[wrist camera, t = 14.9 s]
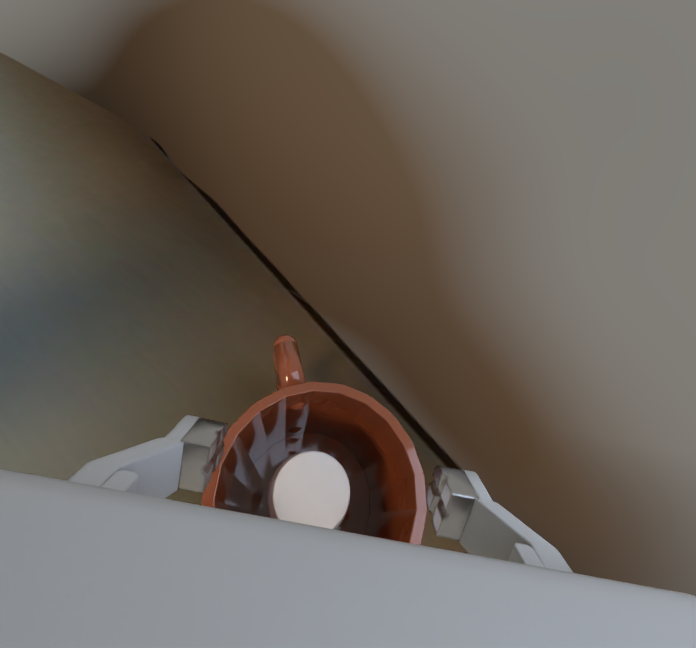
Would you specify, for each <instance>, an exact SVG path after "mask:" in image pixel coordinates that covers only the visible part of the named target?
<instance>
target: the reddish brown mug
mask: <svg viewBox="0 0 696 648" xmlns="http://www.w3.org/2000/svg"><path fill="white" fill-rule="evenodd" d="M273 351H274V367H275V382H276V387H277V391H276V392H274V393H272V394H270V395H268V396H266V397H265V398H263V399H261V400H259V401H257V402H256V403H254V404H253V405H252V406H251V407H250V408H249V409H248V410H247V411H246V412H245V413H244V414H243V415H242V416H241V417H240V418H239V419H238V420H237V421H236V422H235V423H234V424H233V425H232V426H231V427H230V428H229V429H228V431H227V433H226V435H225V437H224V439H223V442H224V444H225V446H224V451H223V455H222V458H221V461H220V463H219V466H218V468H217V469H216V471H214V472H212V476H211V480H210V482H209V484H208V485H207V487H206V489H205V491H204V492H203V496H202V503H201V505H203V506H208V507H213V508H219V509H224V510H230V511H235V512H241V513H246V514H252V515H257V516H263V517H268V518H270V515H269V512H268V507H267V493H268V486H269V483H270V481H271V478H272V476H273V474H274V472H275V471H276V469H277V468H278V467H279V466H280V464H281V463H282V462H283V461H285V460H286V459H287V458H289V457H290V456H292V455H294V454H296V453H299V452H303V451H319V452H324V453H326V454H328V455H330V456H332V457H333V458H335V459H336V460H337V461H338V462H339V463H340V464H341V466H342V467H343V469H344V470H345V472H346V474H347V477H348V480H349V485H350V501H349V506H348V510H347V513H346V515H345V517H344V519H343V521H342V523H341V524H340V526H339V527H338V528H337V529H336V530H340V531H345V532H351V533H356V534H362V535H367V536H373V537H378V538H384V539H389V540H395V541H400V542H406V543H411V544H417V545H421V541H422V536H423V531H424V525H425V520H426V515H427V503H426V490H425V478H424V472H423V470H422V467H421V464H420V461H419V458H418V456H417V453H416V450H415V447H414V445H413V442H412V440H411V439H410V437H409V436H408V434H407V433H406V432H405V430H404V429H403V427H402V426H401V425H400V423H399V422H398V420H397V419H396V417H395V416H394V415H393V414H392V413H391V412H390V411H388V410H387V409H386V408H385V407H383V406H382V405H381V404H380V403H378V402H377V401H376V400H375V399H373V398H372V397H371V396H369V395H368V394H365V393H363V392H360V391H358V390H355V389H353V388H350V387H348V386H345V385H342V384H335V383H324V382H307V383H306V380H305V376H304V372H303V368H302V363H301V359H300V355H299V351H298V346H297V343H296V341H295V339H294V338H293V337H292V336H289V335H281V336H279V337H278V338H277V339H276V340H275V342H274V345H273Z"/></svg>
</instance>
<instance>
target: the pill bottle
mask: <svg viewBox="0 0 696 648" xmlns="http://www.w3.org/2000/svg"><path fill="white" fill-rule="evenodd" d="M349 501H350V485H349V480H348V477H347V474H346V472H345V470H344V469H343V467H342V466H341V464H340V463H339V462H338V461H337V460H336V459H335V458H333V457H332V456H330V455H328V454H326V453H324V452H319V451H303V452H299V453H296V454H294V455H292V456H290V457H289V458H287V459H286V460H285V461H283V462H282V463H281V464H280V466H279V467H278V468H277V469H276V471H275V472H274V474H273V476H272V478H271V481H270V483H269V486H268V493H267V507H268V512H269V515H270V518H274V519H279V520H285V521H290V522H296V523H301V524H307V525H312V526H318V527H323V528H329V529H334V530H336V529H337V528H338V527H339V526H340V524H341V523H342V521H343V519H344V517H345V515H346V513H347V510H348V506H349Z"/></svg>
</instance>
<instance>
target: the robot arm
mask: <svg viewBox="0 0 696 648" xmlns="http://www.w3.org/2000/svg"><path fill="white" fill-rule="evenodd" d="M226 433H227V423H223V422H219V421H214V420H210V419H205V418H200V417H196V416H191V415H185V416H184V417H183V418H182V419H181V420H180V421H179V423H178V424H177V425H176V426H175V427H174V428H173V429H172V430H171V431H170V432H169V433H168V434H167V435H166V437H165V438H157V439H154V440H151V441H148V442H145V443H142V444H139V445H136V446H133V447H130V448H127V449H125V450H122V451H119V452H116V453H113V454H110V455H107V456H104V457H101V458H98V459H95V460H92V461H89V462H88V463H86V464H85V465H84V466H83V467H82V468H81V469H79V470H78V471H77V472H76V473H75V474H73V475H72V476H71V477H70V478H69V479H68V480H66V481H65V480H60V479H54V478H49V477H43V476H38V475H32V474H27V473H21V472H16V471H10V470H5V469H0V648H696V597H695V596H693V595H689V594H686V593H681V592H676V591H670V590H664V589H659V588H653V587H647V586H641V585H636V584H631V583H625V582H620V581H614V580H609V579H603V578H597V577H592V576H587V575H581V574H576V573H573V572H572V571H571V569H570V567H569V566H568V565H567V563H566V562H565V560H564V559H563V557H562V556H561V554H560V553H559V552H558V550H557V549H556V548H554V547H553V546H552V545H551V544H549V543H548V542H547V541H545V540H544V539H543V538H542V537H540V536H539V535H538V534H537V533H535V532H534V531H533V530H531V529H530V528H529V527H528V526H526V525H525V524H524V523H522V522H521V521H520V520H519V519H517V518H516V517H514V516H513V515H512V514H511V513H510V512H508V511H507V510H506V509H504V508H503V507H502V506H500V505H499V504H498V503H495V502H493V501H492V499H491V497H490V496H489V494H488V492H487V491H486V489H485V487H484V485H483V484H482V482H481V480H480V478H479V477H478V475H477V474H476V473H475V472H473V471H467V470H460V469H454V468H448V467H443V466H436V467H435V469H434V472H433V477H434V481H433V482H432V483H430V484H429V487H428V490H427V498H426V501H427V507H428V510H429V512H430V513H431V514H432V515H433V518H432V523H433V526H434V529H435V532H436V535H437V536H439V537H444V538H448V539H453V540H458V541H459V542H460V544H461V545H462V546H463V547H464V548H465V550H466V551H467V552H468V553H469V554H466V553H461V552H455V551H450V550H444V549H439V548H433V547H428V546H422V545H417V544H411V543H406V542H400V541H395V540H389V539H384V538H378V537H373V536H367V535H362V534H356V533H351V532H345V531H340V530H334V529H329V528H323V527H318V526H312V525H307V524H301V523H296V522H290V521H285V520H279V519H274V518H268V517H263V516H257V515H252V514H246V513H241V512H235V511H230V510H224V509H219V508H213V507H208V506H203V505H197V504H192V503H186V502H181V501H175V500H170V499H165V498H166V497H168V496H169V495H171V494H173V493H174V492H176V491H177V490H178V489H181V490H188V491H194V492H201V493H203V492H204V491H205V489H206V487H207V485H208V484H209V482H210V480H211V476H212V472H214V471H216V469H217V468H218V466H219V463H220V461H221V458H222V455H223V451H224V446H225V444H224V442H223V439H224V437H225V435H226Z"/></svg>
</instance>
